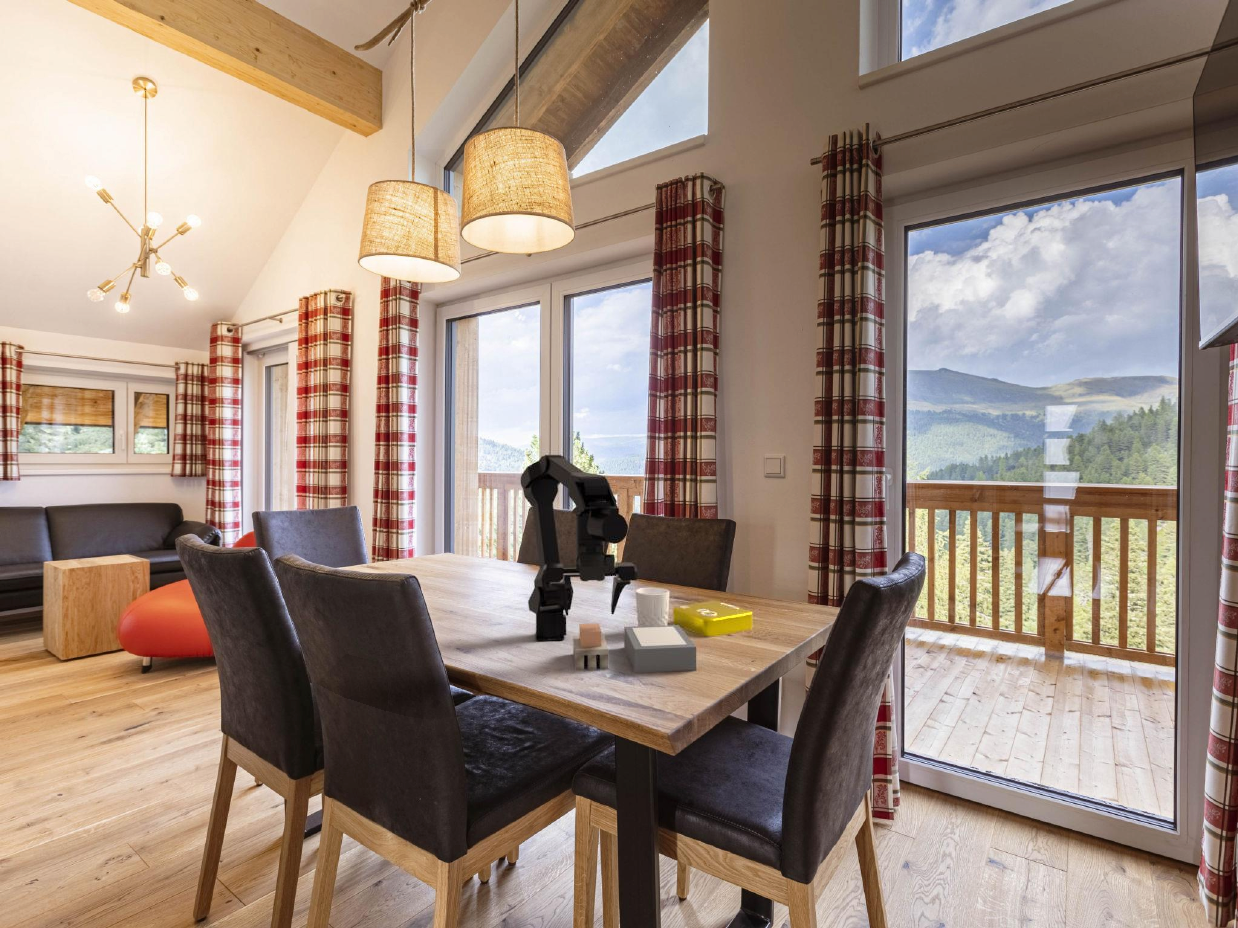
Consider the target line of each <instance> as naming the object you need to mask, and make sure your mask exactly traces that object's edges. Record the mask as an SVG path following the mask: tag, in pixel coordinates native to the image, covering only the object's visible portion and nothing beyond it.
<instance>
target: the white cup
mask: <svg viewBox="0 0 1238 928" xmlns="http://www.w3.org/2000/svg"><path fill="white" fill-rule="evenodd" d="M635 598H636V599H635V600H636V601H635V602H636V605H635V606H636V614H637V616H636V620H637V626H662V625H668V623H669V613H670V590H669V589H667V588H662V587H641V588H638V589H636V590H635Z"/></svg>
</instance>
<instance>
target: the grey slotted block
mask: <svg viewBox="0 0 1238 928" xmlns="http://www.w3.org/2000/svg"><path fill="white" fill-rule="evenodd" d="M572 637H573V638H572V639H573V641H572V642H573V645H572V649H573V651H572V653H573V654H572V655H573V661H574V669H575V671H584V670H585V661H586V667H587V670H589V671H590V670H597V662H598V666H599V670H608V669H609V647H608V644H607V641H606V638H605V635H604V634H601V646H597V647H581V643H580V635H573V636H572Z"/></svg>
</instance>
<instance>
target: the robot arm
mask: <svg viewBox="0 0 1238 928" xmlns="http://www.w3.org/2000/svg"><path fill="white" fill-rule="evenodd" d="M560 484H561V485H563V486H564V487H566V488H567V489H568V492H567V496H568V497H569V498H570V499H571V500H572V502H573V504H574V505H575V507H573V509H572V511H571V513H572V515H575V567H564V565H563V564H564V563H562V562H561V557H560V550H559V541H558V533H557V532H558V531H557V526H556V517H555V509H554V501H555V499H556V497H557V495H558V493H559V485H560ZM520 486H521V487H522V489H523V490H522V491H523V496H524V498H525V499H526V500H527V502H528V503H529V505H531V507H532V514H533V522H534V531H535V538H536V548H537V556H538V565H539V569H538V571H537V573H536V576H535V578H534V580H533V584H534V588H533V590H532V593H531V594H530V597H529V599H528V600H527V605H528V610H529V611H530V612H532V613H533V614H535V638H534V639H535V641H536V642H537V641H563V640H565V636H566V635H567V617H568V616H569V611H570V610H571V607H572V603H573V596H574V588H573V585H572V580H571V579H572V578H579V580H580V581H582V582H588V581H597V582H602V581H604V580H605V579H606V578H605V577H613V580H612V589H611V590H612V591H611V601H610V609H611V610H610V612H611V613H610V614H611V615H614V614H615V611H616V608H617V605H618V602H619V600H620V596H621V594H622V593H623V590H624V589H625V588H626V586H627V585H631V583H632V582H631V581H633V582H634V581H638V568H637V566H636V565H635V564H633V562H632V561H631V562H629V561H628V562H626V561H624V562H616V561H615V560H616V559H615V558H616V557H615V554H609V553H608V554H605V543H608V544H613V545H614V544H619V543H621V542H623V540H625V539H626V537H627V535H628V533H629V524H628V521H627V520H626V518H625V517H624V516H623V515H622V514H620V508H619V507H618V504H617V502H618V501H617V499H616V497H615V494H614V493H613V491H612V489H611V486H610V483H609V481H608V479H607V477H605V476H603V475H601V474H597V473H590V472H585V471H584V470H582V469H580V468H579V467H578V466H576V465H574V464H573V463H571V462H570V461H568V460H567V459H566V458H565V456H564V455H561V454H544V455H542V456H541V457H540V458H539V459H538V460H537V461H535V462H534V463H531V464H530V465H528V466H527V467H526V468H525V469H524V470H523V472H522V473H521V475H520Z"/></svg>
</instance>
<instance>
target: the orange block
mask: <svg viewBox="0 0 1238 928" xmlns="http://www.w3.org/2000/svg"><path fill="white" fill-rule="evenodd" d="M578 626H579V636H580V643H581V647H597V646H601V635H602V630H601V626H600V623H599V622H598V623H597V622H596V623H595V622H594V623H593V622H592V623H579V625H578Z"/></svg>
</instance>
